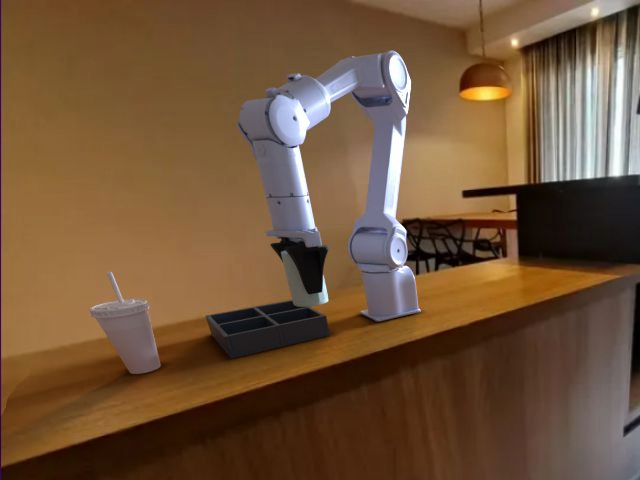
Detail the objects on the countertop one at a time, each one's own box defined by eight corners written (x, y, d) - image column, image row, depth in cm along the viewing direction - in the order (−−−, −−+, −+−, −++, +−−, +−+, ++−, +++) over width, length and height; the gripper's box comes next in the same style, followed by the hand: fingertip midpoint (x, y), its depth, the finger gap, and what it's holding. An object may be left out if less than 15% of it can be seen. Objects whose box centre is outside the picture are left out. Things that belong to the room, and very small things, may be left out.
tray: (300, 316, 87) (296, 299, 85) (330, 335, 77) (326, 315, 75) (211, 335, 78) (205, 315, 76) (231, 358, 67) (224, 336, 66)
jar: (321, 296, 73) (311, 247, 70) (333, 302, 70) (323, 250, 66) (289, 302, 70) (276, 251, 67) (300, 308, 67) (287, 254, 63)
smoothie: (182, 360, 67) (147, 268, 61) (146, 378, 61) (104, 278, 55) (144, 359, 68) (105, 268, 62) (105, 377, 62) (59, 278, 56)
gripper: (244, 196, 66) (267, 286, 72) (273, 199, 56) (297, 303, 62) (293, 194, 70) (311, 279, 76) (327, 196, 60) (345, 294, 66)
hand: (308, 289), depth 69 cm, fingers closed on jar, 5 cm apart
